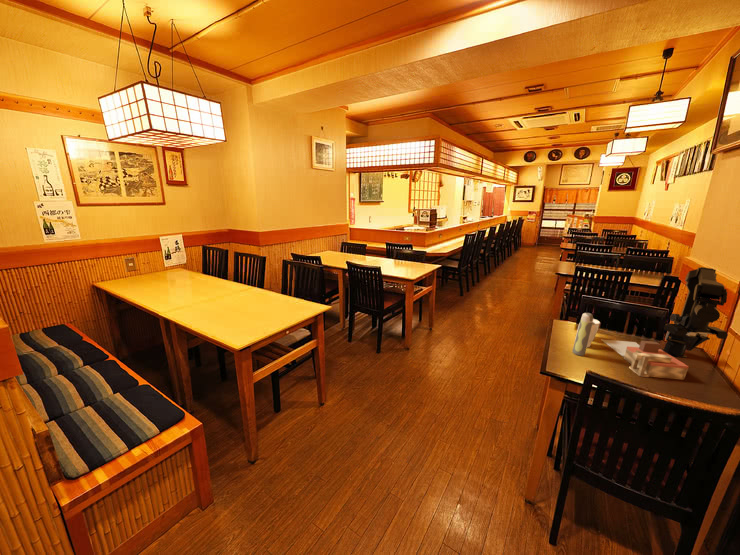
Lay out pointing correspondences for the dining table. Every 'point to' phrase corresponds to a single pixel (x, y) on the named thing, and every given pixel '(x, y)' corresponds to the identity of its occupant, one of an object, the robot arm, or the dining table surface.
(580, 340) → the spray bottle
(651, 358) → the tan wooden bar
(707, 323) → the robot arm
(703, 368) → the dining table surface
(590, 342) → the can
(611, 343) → the mat
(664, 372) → the toolbox
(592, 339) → the white cup
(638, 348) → the lid
